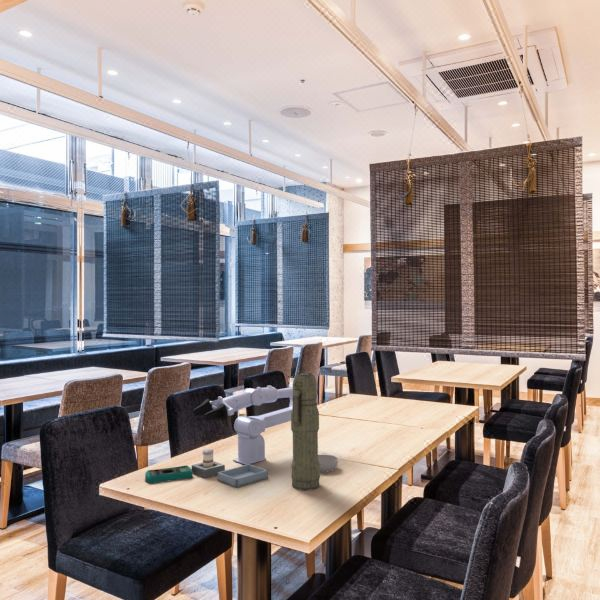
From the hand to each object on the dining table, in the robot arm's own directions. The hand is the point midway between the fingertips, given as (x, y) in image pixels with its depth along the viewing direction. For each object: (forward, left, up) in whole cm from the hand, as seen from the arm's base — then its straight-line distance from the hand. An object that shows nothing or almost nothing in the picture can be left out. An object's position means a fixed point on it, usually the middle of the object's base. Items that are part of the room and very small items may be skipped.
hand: (199, 415), depth 185 cm
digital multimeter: (+10, -3, -20) cm, 23 cm away
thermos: (-16, +35, -20) cm, 43 cm away
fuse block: (-2, +2, -19) cm, 20 cm away
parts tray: (-6, +16, -19) cm, 26 cm away
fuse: (-2, +2, -19) cm, 20 cm away
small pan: (-32, +23, -20) cm, 44 cm away
